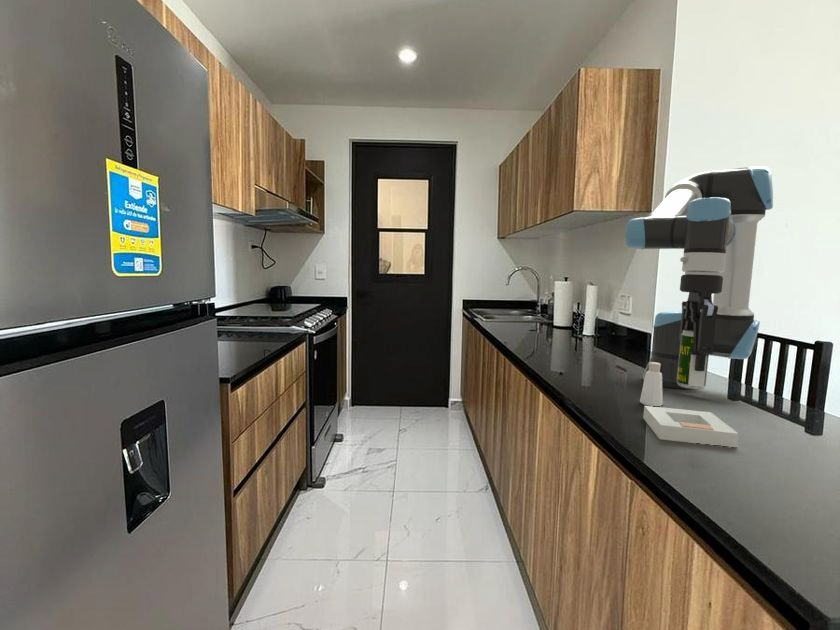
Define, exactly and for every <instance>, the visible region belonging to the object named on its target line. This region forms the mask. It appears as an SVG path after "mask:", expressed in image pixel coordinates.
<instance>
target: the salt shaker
mask: <svg viewBox="0 0 840 630" xmlns="http://www.w3.org/2000/svg"><path fill="white" fill-rule="evenodd" d="M648 363H649V371H647V372H646V374H645V379H644V380H643V385H642V389H641V393H640V394H641V395H640V397H639V398H640V399H639V403H640V404H642V405H644V406H652V407H653V406H660V407H662V406H663V403H664V401H663V386H662V373H660V366H661V364H660V363H657V362H649V361H648ZM661 405H662V406H661Z"/></svg>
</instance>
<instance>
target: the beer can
mask: <svg viewBox="0 0 840 630" xmlns="http://www.w3.org/2000/svg"><path fill="white" fill-rule="evenodd" d="M691 351H692V352H693V351H694V330H687V329H686V330H683V332H682V334H681V341H680V351H679V362H678V372H677V383H678V385H679V386H681V387H685V388H690V389H689V390H704V388H705V387H706V385H707V377H708V376H707V375H708V368H709V367H708V366H709V357H710V355H708V356H707V362H706V371H705V381H704V387H700V386H689V385H688V381H689V371H690V361H691V355H690V352H691Z"/></svg>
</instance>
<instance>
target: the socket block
mask: <svg viewBox="0 0 840 630" xmlns="http://www.w3.org/2000/svg"><path fill="white" fill-rule="evenodd" d="M642 416H643V417H642V418H643V420H644V421H645V422H646V423H647V425H648V426H649V428H650V429H651V430H652V431H653V433H654V434H655V435H656V437H657V438H658V439H659V440H662V441H663V440H665V441H670V442H671V441H673V442H681V443H691V444H696V443H700V444H699V445H705V444H710V445H709V446H713V445H721V446H720V447H722V446H729V447H728V448H731V447H737V448H738V443H739V432H737V431H736V430H735V429H733V428H732V427H730V426H729V425H728V424H727V423H725V422H724V421H723V420H722V419H720V418H719V417H718V416H717V415H716V414H714V413H713V412H712V411H711V412H710V411H702V410H701V411H700V410H699V411H698V410H692V409H691V410H689V409H682V408H681V409H680V408H671V407H670V408H669V407H662V406H660V407H653V406H648V405H644V406H643V415H642Z"/></svg>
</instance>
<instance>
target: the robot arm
mask: <svg viewBox="0 0 840 630" xmlns="http://www.w3.org/2000/svg"><path fill="white" fill-rule="evenodd" d="M773 188H774V187H773V178H772V172H771V169H770V168H769V167H767V166H747V167H738V168H729V169H728V168H727V169H722V170H721V169H719V170H707V171H704V172H703V171H702V172H699V173H696V174H693V175H691V176H687V178H684V179H681V180H680V181H679V182H677V183H675V184H673V185H672V187H670V188H669V189H668V190H667V192H666V193H665V196H664V199H663V200H662V201H660V203H659V204H658V205H657V206H656V207H655V208H654V209H653V211H651V212H650V213H649V214H648V215H647V216H646V217H641V216H640V217H637V218H636V217H635V218H631V219H629V221H628V222H627V223H626V226H625V233H624V234H625V237H624V238H625V244H626V246H627V247H628V248H629V249H640V250H660V249H661V250H662V249H663V250H671V249H672V250H673V249H675V250H679V249H681V250H683V256H682V257H680V258H679V260H680V262H681V263H682V266H681V267H682V268H681V271H682V272H684V274H682V275H681V276H680V285H679V291H680V292H681V293H688V295H687V296H688V297H687V300H686V301H682V302H681V310H674V311H671V310H670V311H660V312H658V313H657V314H656V315H655V317H654V324H653V326H652V327H653V334H652V344H651V345H652V346H651V356H650V359H649V361H648V363H647V365H646V367H645V370H644V371H643V375H642V376H643V377H642V381H644V379H645V374H646V372H647V371H649V362H657V363H660V364H661V366H660V373H662V388H670V389H679V390H691V389H690V388H685V387H681V386H679V385H678V383H677V372H678V362H679V351H680V341H681V334H682V332H683V330H686V329H687V330H694V351H693V352H692V351H691V352H690V355H691V361H690V371H689V381H688V385H689V386H700V387H704V381H705V371H706V362H707V356H708V355H709V356H712V357H713V356H714V357H719V358H725V359H729V360H731V359H737V360H745V359H749V357H750V356H751V354H752V352H753V349H754V346H755V344H756V343H755V342H756V341H757V337H758V333H759V328H760V323H761V322H760V321H759V320H757V319H755V313H754V312H753V311H752V310H751V309H750V308H749V305H750V296H751V285H752V277H753V269H754V260H755V259H754V258H755V249H756V248H755V247H756V241H757V231H758V230H757V229H758V224H759V222H760V221H761V220H762V219H764V218H765V217H766V211H769V210H772V209H773V208H774V207H773V206H774V200H773V199H774V191H773ZM712 295H713V297H712ZM712 298H713V300H712ZM704 388H705V387H704Z"/></svg>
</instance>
